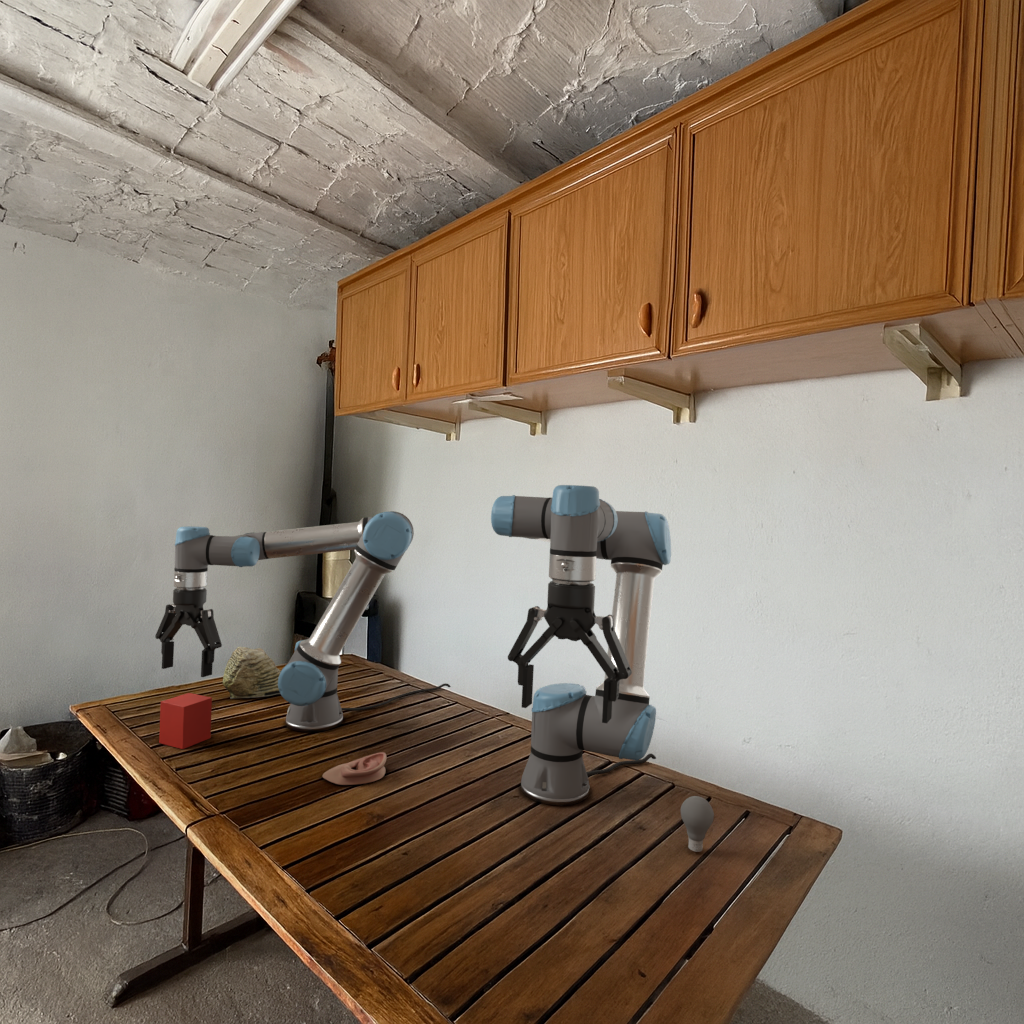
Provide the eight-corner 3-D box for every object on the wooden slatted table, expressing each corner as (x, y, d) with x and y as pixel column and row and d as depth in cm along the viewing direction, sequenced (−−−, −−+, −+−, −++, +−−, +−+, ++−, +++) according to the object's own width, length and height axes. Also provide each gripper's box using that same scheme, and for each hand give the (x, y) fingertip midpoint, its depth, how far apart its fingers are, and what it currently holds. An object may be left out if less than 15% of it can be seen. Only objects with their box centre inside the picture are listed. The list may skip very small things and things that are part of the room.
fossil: (218, 695, 195) (220, 647, 195) (278, 685, 208) (279, 640, 207) (228, 703, 189) (230, 653, 188) (289, 692, 201) (290, 645, 201)
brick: (159, 743, 158) (160, 701, 158) (187, 732, 166) (189, 692, 165) (182, 749, 155) (184, 706, 155) (210, 738, 162) (212, 697, 162)
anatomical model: (316, 763, 140) (340, 744, 151) (315, 781, 140) (339, 761, 151) (372, 771, 137) (392, 751, 149) (371, 789, 138) (391, 768, 149)
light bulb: (674, 841, 122) (676, 790, 121) (704, 841, 122) (707, 790, 122) (685, 859, 116) (688, 805, 115) (717, 859, 116) (719, 805, 116)
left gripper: (141, 584, 161) (138, 667, 161) (214, 594, 151) (210, 683, 152) (168, 581, 168) (164, 661, 168) (239, 591, 158) (235, 675, 159)
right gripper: (491, 576, 103) (486, 705, 104) (644, 591, 93) (637, 735, 93) (510, 572, 110) (505, 693, 110) (654, 586, 100) (648, 719, 100)
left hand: (186, 671), depth 160 cm, fingers open, 13 cm apart
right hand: (565, 713), depth 102 cm, fingers open, 13 cm apart
